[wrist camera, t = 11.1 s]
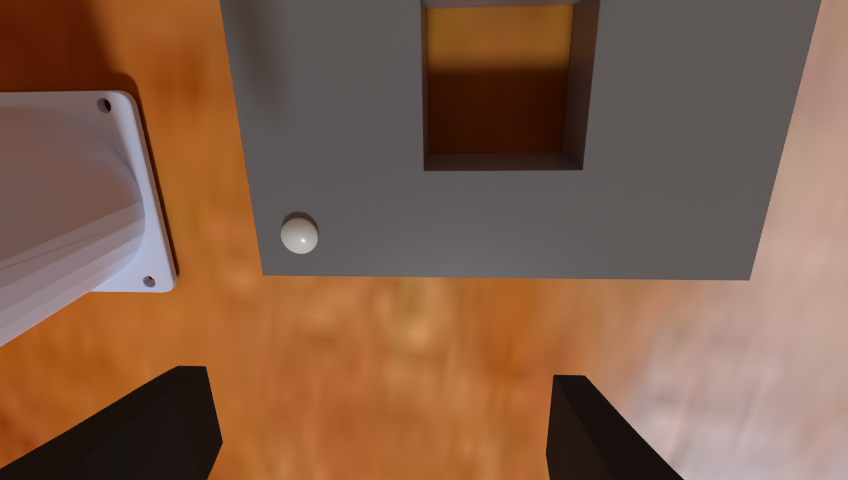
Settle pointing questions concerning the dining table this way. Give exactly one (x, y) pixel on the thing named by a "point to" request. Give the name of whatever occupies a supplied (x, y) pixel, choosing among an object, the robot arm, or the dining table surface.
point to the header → (517, 172)
